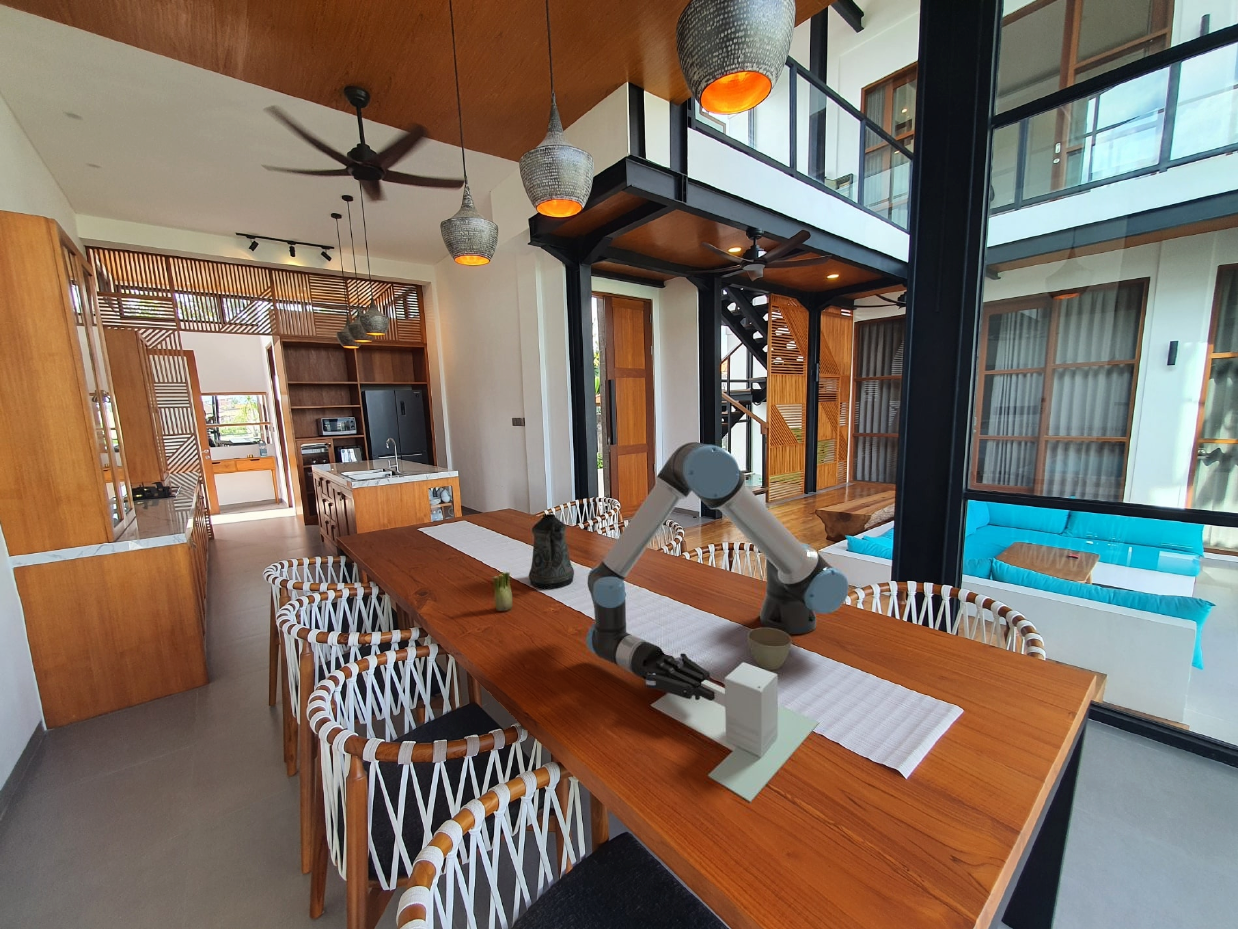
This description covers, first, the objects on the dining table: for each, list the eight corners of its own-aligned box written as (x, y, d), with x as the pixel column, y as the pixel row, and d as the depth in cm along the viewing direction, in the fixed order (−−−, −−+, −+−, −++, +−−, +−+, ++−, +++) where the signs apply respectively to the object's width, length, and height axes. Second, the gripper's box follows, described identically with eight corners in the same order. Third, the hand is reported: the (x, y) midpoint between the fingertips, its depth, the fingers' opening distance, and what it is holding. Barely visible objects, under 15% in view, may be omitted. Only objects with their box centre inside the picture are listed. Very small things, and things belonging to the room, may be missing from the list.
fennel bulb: (496, 614, 150) (493, 577, 148) (493, 608, 154) (491, 572, 153) (514, 610, 152) (512, 574, 151) (511, 605, 156) (509, 569, 155)
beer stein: (551, 571, 188) (548, 508, 185) (589, 580, 177) (586, 513, 174) (519, 584, 175) (515, 517, 172) (558, 595, 163) (555, 523, 160)
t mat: (624, 724, 96) (624, 723, 96) (701, 670, 114) (701, 670, 114) (750, 802, 76) (750, 801, 76) (819, 723, 94) (819, 722, 94)
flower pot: (794, 677, 110) (794, 648, 109) (749, 674, 112) (749, 645, 111) (788, 655, 120) (788, 628, 119) (746, 652, 122) (746, 625, 121)
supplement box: (779, 737, 90) (779, 674, 89) (760, 759, 85) (761, 692, 83) (743, 720, 95) (743, 660, 94) (724, 740, 90) (723, 677, 88)
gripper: (660, 662, 113) (749, 703, 97) (621, 685, 104) (712, 736, 88) (659, 632, 112) (749, 668, 96) (619, 653, 103) (711, 697, 87)
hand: (731, 700), depth 92 cm, fingers closed
